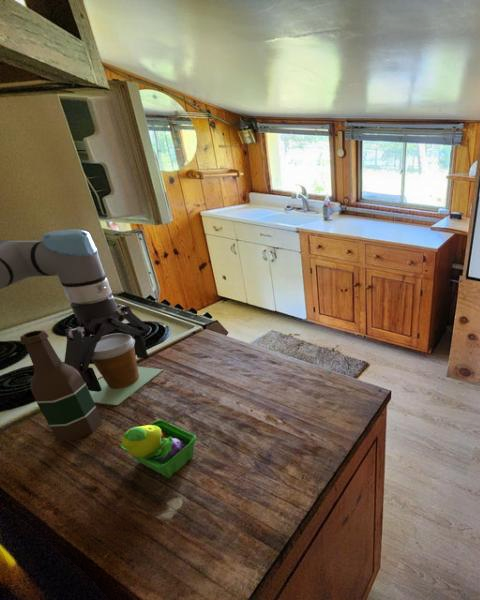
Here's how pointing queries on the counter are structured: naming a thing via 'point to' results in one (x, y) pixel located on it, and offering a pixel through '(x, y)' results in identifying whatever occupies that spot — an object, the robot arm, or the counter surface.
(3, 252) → the robot arm
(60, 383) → the beer bottle
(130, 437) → the fruit basket
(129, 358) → the disposable coffee cup
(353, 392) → the counter surface
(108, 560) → the counter surface
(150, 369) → the mat
